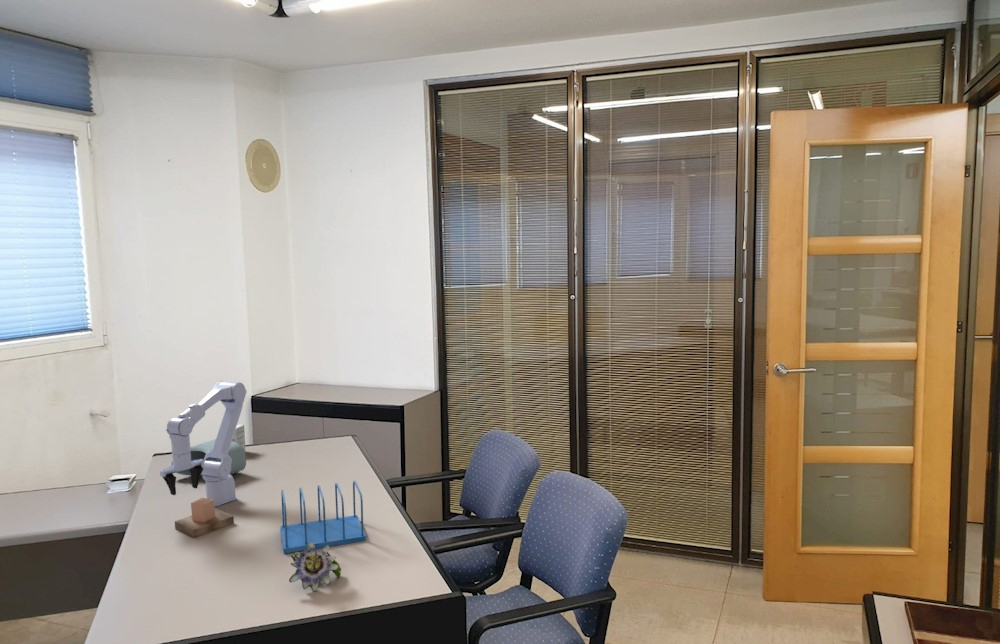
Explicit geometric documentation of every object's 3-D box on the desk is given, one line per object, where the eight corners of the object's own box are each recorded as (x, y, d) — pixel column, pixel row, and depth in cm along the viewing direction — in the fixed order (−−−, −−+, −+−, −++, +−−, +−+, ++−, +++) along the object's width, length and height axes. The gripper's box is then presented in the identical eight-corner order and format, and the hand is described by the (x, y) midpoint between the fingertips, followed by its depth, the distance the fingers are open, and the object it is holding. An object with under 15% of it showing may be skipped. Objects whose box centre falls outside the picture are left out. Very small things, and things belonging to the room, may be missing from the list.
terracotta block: (203, 514, 235) (201, 497, 234) (215, 516, 233) (214, 499, 233) (192, 520, 230) (190, 503, 229) (204, 522, 229) (203, 504, 228)
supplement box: (221, 456, 305) (220, 428, 303) (231, 450, 312) (229, 423, 311) (237, 456, 304) (235, 428, 302) (246, 451, 311) (244, 424, 309)
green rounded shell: (247, 474, 281) (245, 444, 279) (205, 489, 265) (203, 457, 263) (213, 465, 293) (211, 436, 291) (171, 479, 277) (168, 448, 275)
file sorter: (283, 554, 211) (280, 506, 209) (280, 532, 227) (277, 486, 225) (366, 541, 219) (364, 494, 217) (357, 520, 235) (355, 476, 233)
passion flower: (316, 611, 190) (287, 584, 183) (304, 584, 200) (276, 557, 193) (353, 578, 193) (326, 551, 186) (340, 554, 203) (314, 527, 196)
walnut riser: (214, 514, 241) (214, 507, 241) (233, 523, 234) (233, 515, 234) (175, 528, 230) (174, 521, 230) (194, 537, 223) (193, 530, 223)
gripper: (195, 445, 244) (198, 482, 246) (154, 456, 233) (157, 494, 235) (206, 448, 240) (208, 486, 242) (164, 459, 229) (167, 499, 230)
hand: (184, 490), depth 238 cm, fingers open, 7 cm apart
